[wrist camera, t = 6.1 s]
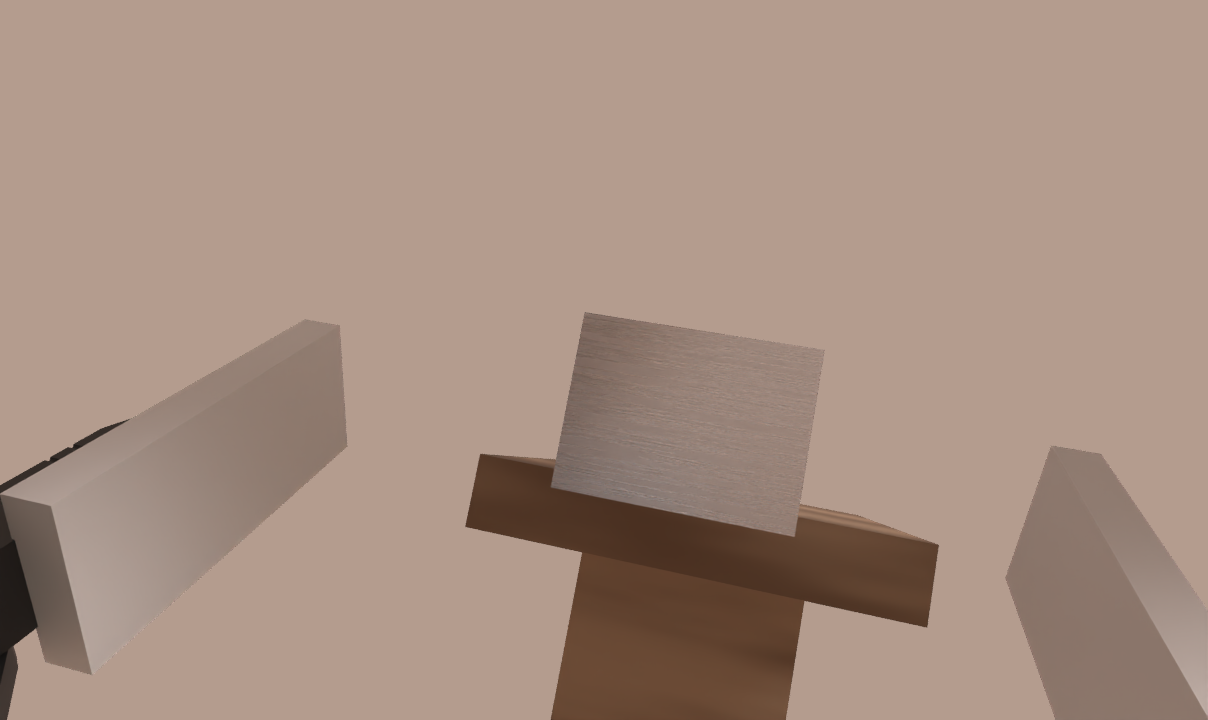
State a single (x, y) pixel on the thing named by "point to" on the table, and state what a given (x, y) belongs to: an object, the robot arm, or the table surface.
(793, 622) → the stand
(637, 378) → the grey block
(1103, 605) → the robot arm
